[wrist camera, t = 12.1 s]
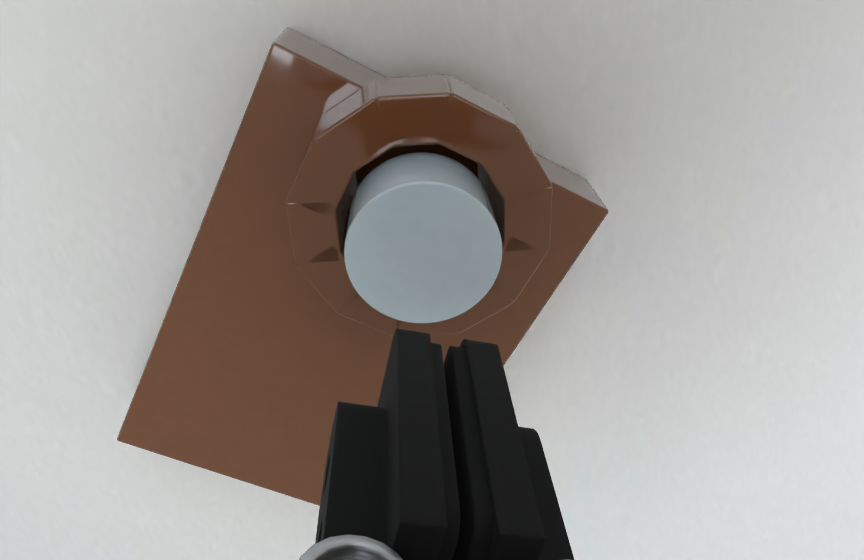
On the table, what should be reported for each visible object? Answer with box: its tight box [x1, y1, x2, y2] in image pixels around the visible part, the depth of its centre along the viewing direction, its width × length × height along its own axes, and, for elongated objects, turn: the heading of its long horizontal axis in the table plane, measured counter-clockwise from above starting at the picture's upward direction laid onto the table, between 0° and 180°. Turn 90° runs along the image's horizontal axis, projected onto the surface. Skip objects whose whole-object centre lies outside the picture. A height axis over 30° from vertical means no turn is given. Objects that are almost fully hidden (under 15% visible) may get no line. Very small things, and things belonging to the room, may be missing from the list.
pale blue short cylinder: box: [344, 152, 503, 323], centre depth 16 cm, size 4×4×2 cm
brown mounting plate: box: [117, 28, 608, 506], centre depth 21 cm, size 15×10×4 cm, turn 153°
